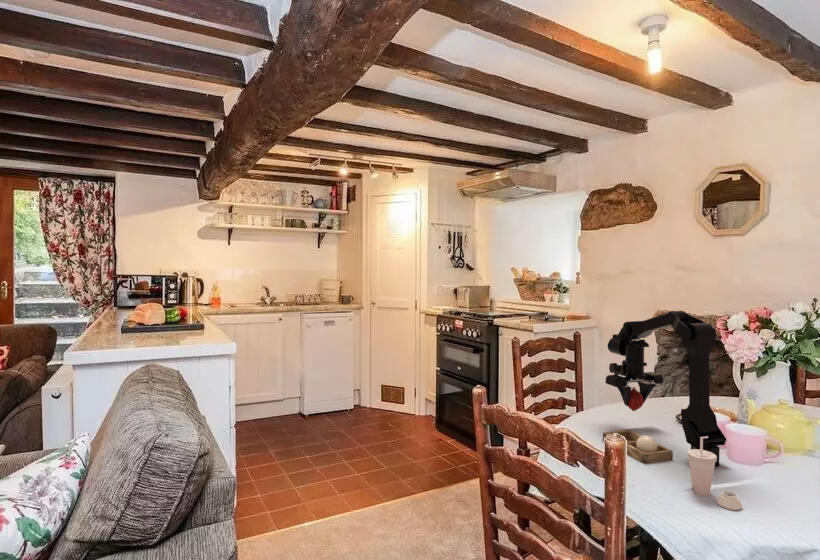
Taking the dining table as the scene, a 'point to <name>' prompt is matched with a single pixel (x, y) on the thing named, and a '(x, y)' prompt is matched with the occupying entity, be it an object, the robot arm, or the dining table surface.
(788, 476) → the dining table surface
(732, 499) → the beige round hollow piece
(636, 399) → the onion
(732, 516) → the dining table surface
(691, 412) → the robot arm
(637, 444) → the cream egg
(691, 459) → the smoothie
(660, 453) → the egg tray
